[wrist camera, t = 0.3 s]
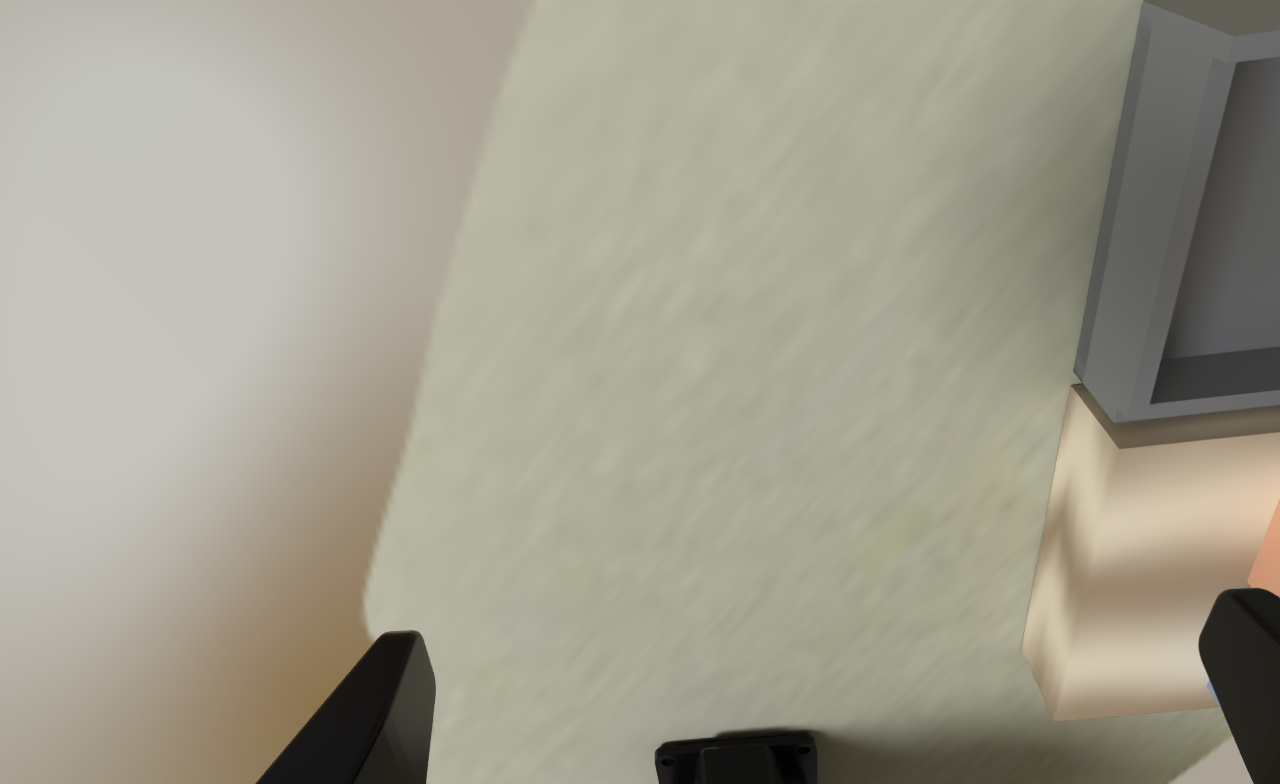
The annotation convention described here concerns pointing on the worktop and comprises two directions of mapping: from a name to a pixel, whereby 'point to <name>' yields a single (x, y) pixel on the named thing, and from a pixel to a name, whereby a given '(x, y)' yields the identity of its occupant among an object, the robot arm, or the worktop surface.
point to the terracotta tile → (1268, 558)
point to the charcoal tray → (1191, 220)
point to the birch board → (1144, 553)
